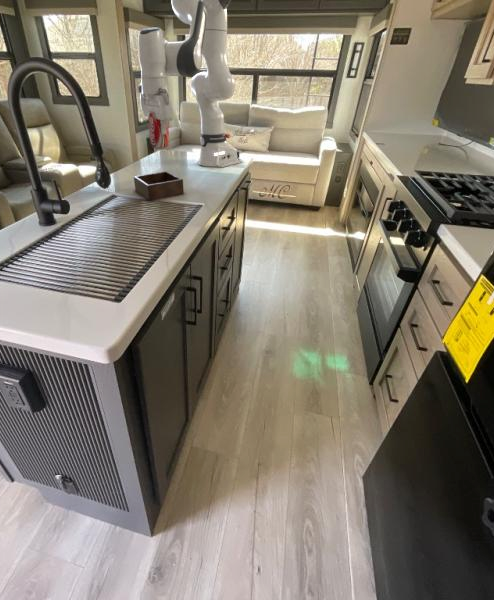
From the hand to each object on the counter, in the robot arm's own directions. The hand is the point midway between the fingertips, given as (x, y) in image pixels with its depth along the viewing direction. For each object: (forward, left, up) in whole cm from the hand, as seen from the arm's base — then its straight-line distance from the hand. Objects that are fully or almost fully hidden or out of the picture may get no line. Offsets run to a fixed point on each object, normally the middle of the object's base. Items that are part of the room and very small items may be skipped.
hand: (158, 132), depth 121 cm
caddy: (+3, +2, -21) cm, 21 cm away
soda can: (0, 0, -6) cm, 6 cm away
